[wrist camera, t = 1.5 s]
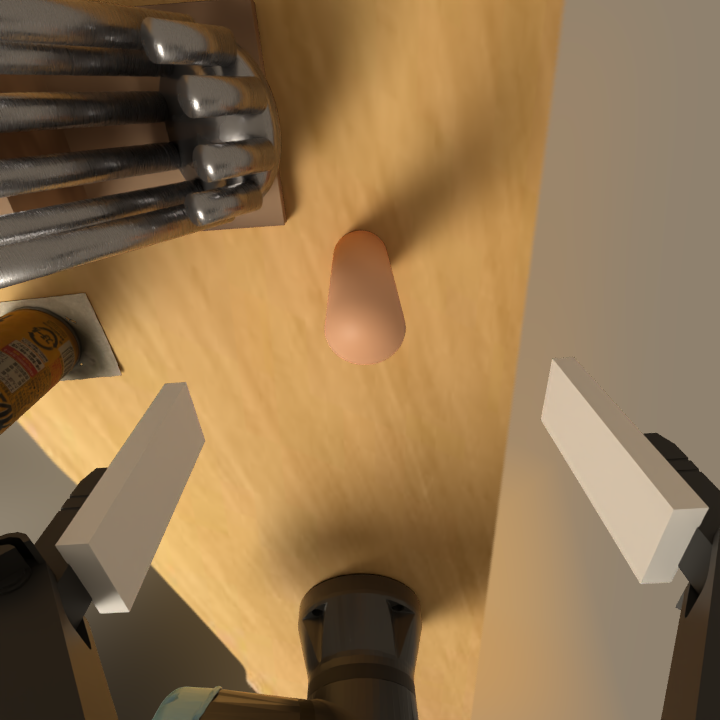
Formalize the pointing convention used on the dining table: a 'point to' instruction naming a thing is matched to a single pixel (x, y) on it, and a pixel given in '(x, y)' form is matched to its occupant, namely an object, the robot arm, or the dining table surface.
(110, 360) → the condiment
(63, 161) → the socket
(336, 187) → the dining table surface
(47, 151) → the socket base
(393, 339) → the peg
